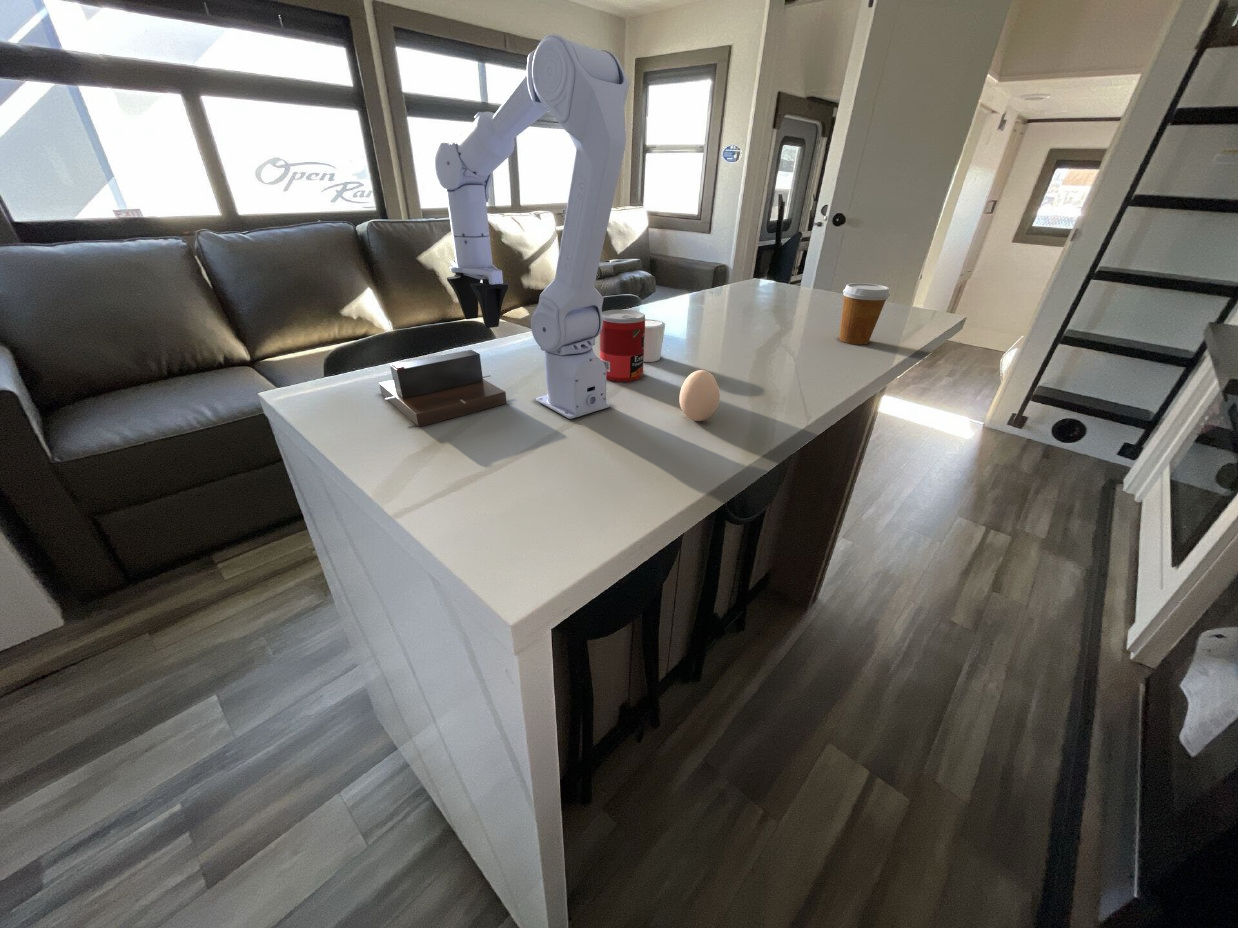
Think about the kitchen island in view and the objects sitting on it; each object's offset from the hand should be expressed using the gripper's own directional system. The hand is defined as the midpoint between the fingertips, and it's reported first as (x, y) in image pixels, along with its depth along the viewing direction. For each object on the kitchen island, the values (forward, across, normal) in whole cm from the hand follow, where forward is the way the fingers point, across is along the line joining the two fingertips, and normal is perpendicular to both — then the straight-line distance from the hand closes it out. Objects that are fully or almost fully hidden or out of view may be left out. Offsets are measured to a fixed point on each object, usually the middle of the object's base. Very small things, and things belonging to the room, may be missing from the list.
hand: (481, 322), depth 84 cm
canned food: (+10, +15, +19) cm, 26 cm away
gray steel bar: (+7, +6, -11) cm, 15 cm away
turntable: (+9, +6, -11) cm, 16 cm away
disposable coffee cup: (+10, +30, +77) cm, 83 cm away
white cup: (+10, +10, +30) cm, 33 cm away
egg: (+10, +37, +15) cm, 41 cm away
